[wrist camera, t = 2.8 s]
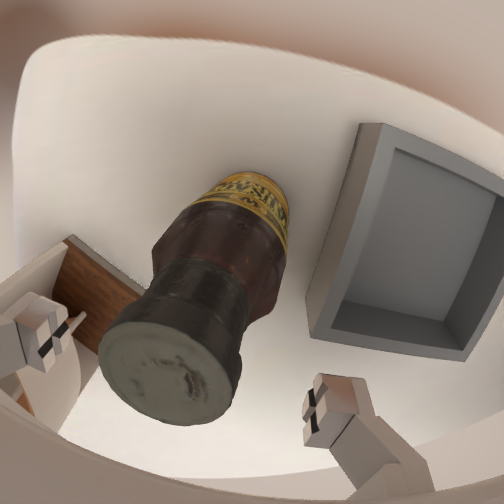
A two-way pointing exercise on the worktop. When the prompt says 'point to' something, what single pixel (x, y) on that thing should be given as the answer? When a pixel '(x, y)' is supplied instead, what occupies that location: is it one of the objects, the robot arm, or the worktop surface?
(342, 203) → the box
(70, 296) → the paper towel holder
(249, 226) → the sauce bottle
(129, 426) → the worktop surface
